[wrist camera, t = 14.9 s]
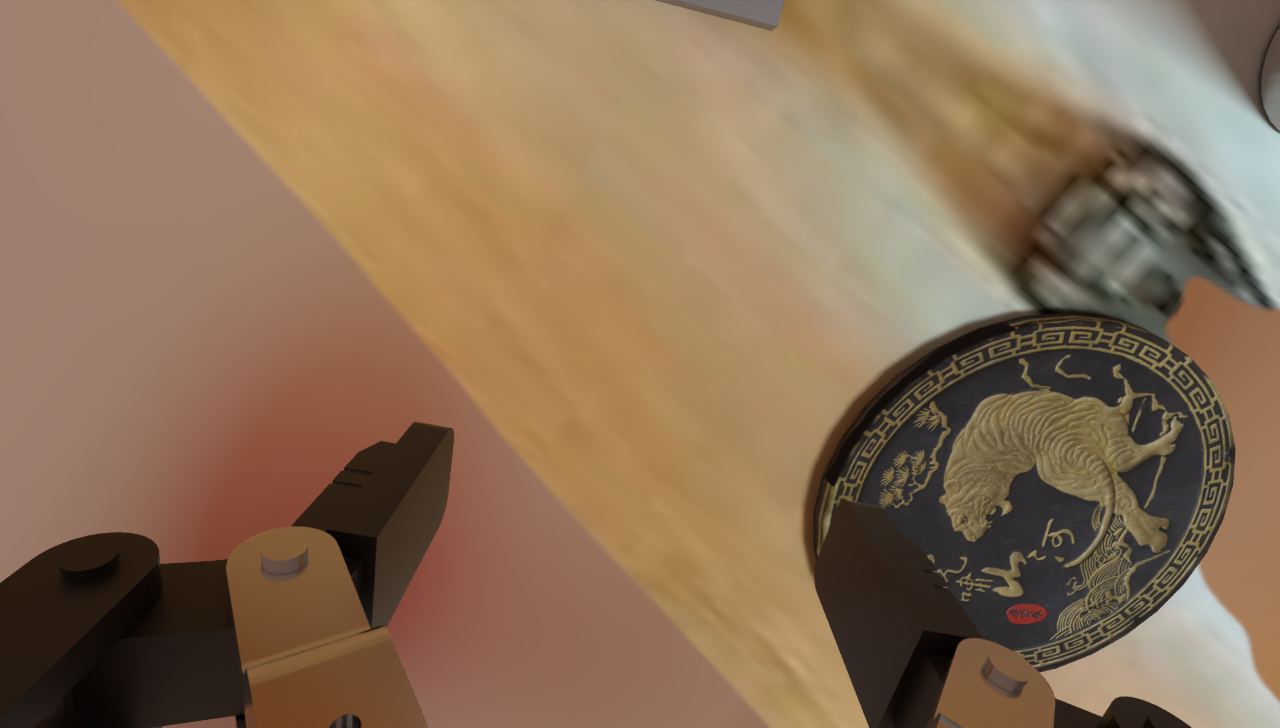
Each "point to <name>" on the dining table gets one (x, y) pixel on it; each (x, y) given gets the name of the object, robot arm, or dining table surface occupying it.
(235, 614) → the robot arm
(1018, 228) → the dining table surface
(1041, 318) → the decorative plate
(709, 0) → the dish rack
